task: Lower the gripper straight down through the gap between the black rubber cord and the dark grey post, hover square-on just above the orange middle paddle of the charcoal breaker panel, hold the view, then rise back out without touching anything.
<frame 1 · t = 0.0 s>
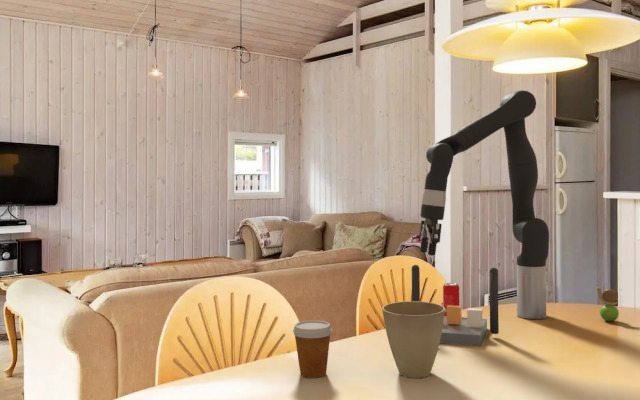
hand: (427, 253, 189), 22 cm above the table, tool pointing down, fingers open, 8 cm apart
breaker panel: (454, 334, 174), on the table
dark grey post: (494, 302, 169), point 10 cm above the table, hinge at 0.0°
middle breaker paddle: (454, 314, 173), point 6 cm above the table, hinge at 0.0°
outer cord: (415, 297, 177), point 10 cm above the table, hinge at 0.0°
snail figurine: (607, 321, 186), on the table
beverage can: (451, 321, 191), on the table
plant pot: (414, 374, 140), on the table
disposable coffee cup: (313, 374, 141), on the table
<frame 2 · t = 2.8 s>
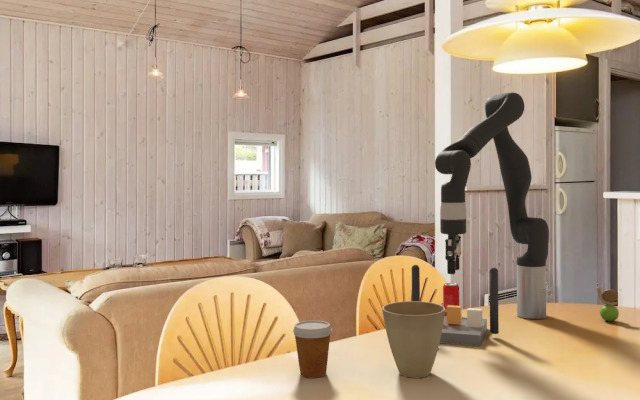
hand: (453, 271, 173), 19 cm above the table, tool pointing down, fingers open, 8 cm apart
nothing on the table moved.
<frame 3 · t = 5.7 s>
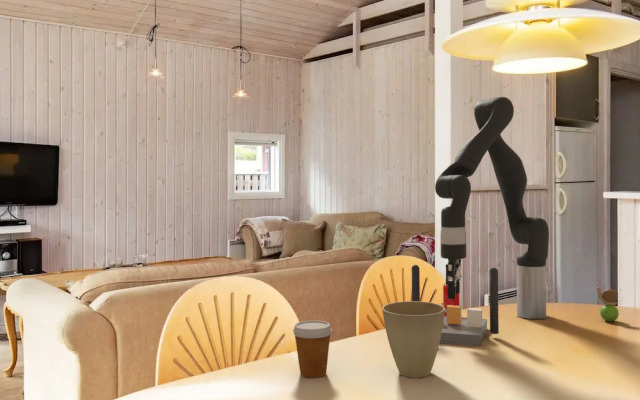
hand: (453, 296, 173), 12 cm above the table, tool pointing down, fingers open, 8 cm apart
nothing on the table moved.
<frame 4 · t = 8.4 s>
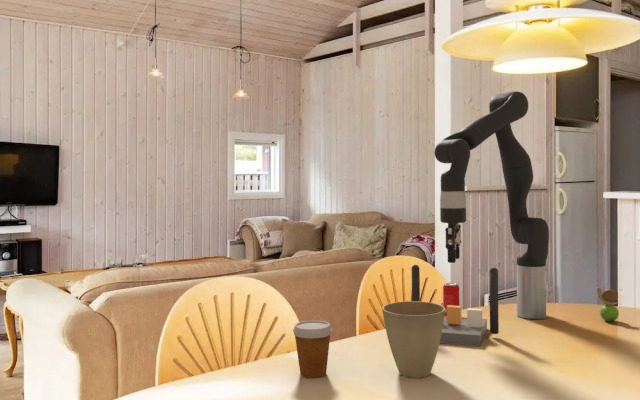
hand: (453, 260, 173), 22 cm above the table, tool pointing down, fingers open, 8 cm apart
nothing on the table moved.
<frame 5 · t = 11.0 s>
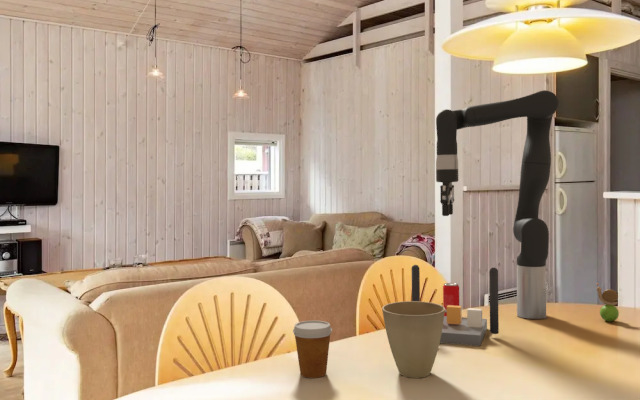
hand: (447, 215, 201), 34 cm above the table, tool pointing down, fingers open, 8 cm apart
nothing on the table moved.
at the end: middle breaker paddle at +0° (first picture: +0°); dark grey post at +0° (first picture: +0°); outer cord at +0° (first picture: +0°) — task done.
